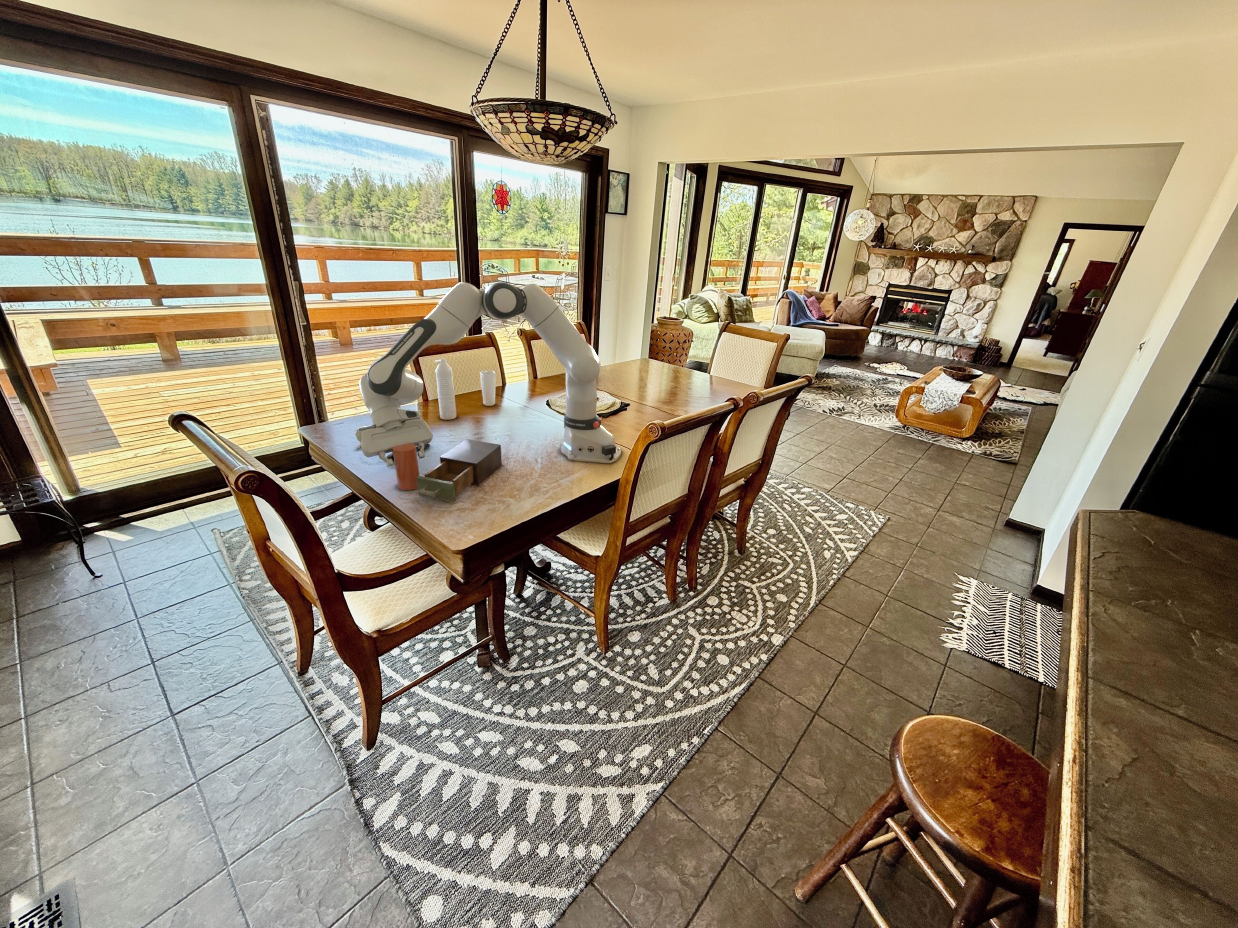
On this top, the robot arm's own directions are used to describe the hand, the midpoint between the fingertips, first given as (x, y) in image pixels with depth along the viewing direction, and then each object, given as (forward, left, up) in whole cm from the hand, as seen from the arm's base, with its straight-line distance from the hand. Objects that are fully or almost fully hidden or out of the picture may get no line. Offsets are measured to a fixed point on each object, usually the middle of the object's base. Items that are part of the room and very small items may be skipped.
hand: (406, 461), depth 144 cm
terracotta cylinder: (0, 0, -8) cm, 8 cm away
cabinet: (-13, -15, -8) cm, 21 cm away
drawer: (-13, 0, -7) cm, 15 cm away
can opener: (+13, -19, -8) cm, 25 cm away
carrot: (+34, -25, -8) cm, 43 cm away
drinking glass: (+15, -78, -8) cm, 80 cm away
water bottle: (+22, -55, -8) cm, 60 cm away
